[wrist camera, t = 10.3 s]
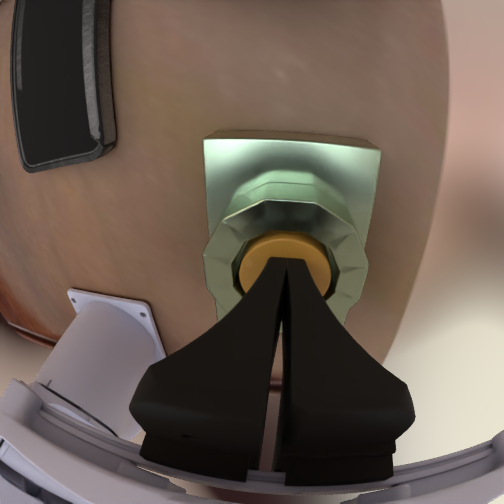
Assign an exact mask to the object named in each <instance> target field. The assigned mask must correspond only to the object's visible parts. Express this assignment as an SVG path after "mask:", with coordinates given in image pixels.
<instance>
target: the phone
mask: <svg viewBox="0 0 504 504" xmlns="http://www.w3.org/2000/svg"><path fill="white" fill-rule="evenodd" d="M109 9H110V0H15V6H14V13H13V22H12V32H11V49H10V83H11V100H12V111H13V120H14V128H15V135H16V141H17V147H18V153H19V158H20V162H21V165H22V167H23V168H24V169H25V171H26V172H28V173H35V172H40V171H44V170H48V169H53V168H57V167H62V166H67V165H72V164H78V163H83V162H89V161H92V160H95V159H97V158H99V157H101V156H103V155H106V154H107V153H109V152H110V151H111V150H112V148H113V146H114V144H115V140H116V130H115V122H114V113H113V103H112V92H111V78H110V58H109Z"/></svg>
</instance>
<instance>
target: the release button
mask: <svg viewBox="0 0 504 504" xmlns="http://www.w3.org/2000/svg"><path fill="white" fill-rule="evenodd" d="M270 257H284V258H298V259H304V260H305V261H306V264H307V267H308V269H309V271H310V274H311V276H312V278H313V280H314V282H315V284H316V286H317V288H318V289H319V291H320V293H321V295H322V296H324V294H325V293H326V291H327V289H328V287H329V284H330V280H331V270H330V264H329V258H328V252H327V247H326V246H325V245H324V244H322V243H321V242H319V241H318V240H316V239H314V238H313V237H311V236H310V235H308V234H306V233H305V232H291V231H276V230H271V231H269V232H267V233H265V234H262V235H260V236H258V237H255V238H253V239H251V240H249V241H248V242H247V244H246V248H245V251H244V255H243V258H242V262H241V265H240V270H239V278H240V283H241V286H242V288H243V290H244V291H245V293H247V291H248V290H249V289H250V288H251V286H252V285H253V283H254V282H255V281H256V279H257V278H258V276H259V275H260V273H261V272H262V270H263V268H264V267H265V265H266V263H267V260H268V259H269V258H270Z"/></svg>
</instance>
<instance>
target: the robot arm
mask: <svg viewBox="0 0 504 504" xmlns="http://www.w3.org/2000/svg"><path fill="white" fill-rule="evenodd" d="M67 294H68V296H69V298H70V301H71V303H72V305H73V307H74V309H75V311H76V313H77V316H76V317H75V319H74V320H73V321H72V323H71V324H70V326H69V327H68V328H67V330H66V331H65V333H64V334H63V336H62V337H61V338H60V340H59V341H58V343H57V344H56V346H55V347H54V349H53V350H52V352H51V353H50V355H49V356H48V358H47V359H46V361H45V363H44V364H43V366H42V367H41V369H40V370H39V372H38V374H37V375H36V377H35V379H34V380H33V382H32V383H30V384H28V385H26V384H25V383H24V382H23V381H18V380H17V379H15V378H12V380H11V382H10V383H9V385H8V387H7V389H6V390H5V392H4V393H3V395H2V397H1V398H0V504H241V503H233V502H226V501H220V500H214V499H208V498H202V497H198V496H192V495H188V494H186V490H185V489H183V488H181V487H179V486H177V485H175V484H173V483H171V482H170V481H169V479H167V478H165V477H162V476H159V475H156V474H154V473H151V472H149V471H146V470H143V469H141V468H139V467H142V468H145V469H148V470H151V471H154V472H157V473H160V474H163V475H167V476H170V477H174V478H178V479H182V480H186V481H190V482H194V483H199V484H203V485H208V486H213V487H219V488H225V489H231V490H238V491H246V492H255V493H266V494H281V495H332V494H347V493H357V492H366V491H374V490H380V489H384V490H380V491H376V492H370V493H365V494H360V495H359V496H358V497H357V498H354V499H352V500H348V501H344V502H341V503H340V504H488V503H489V502H491V501H493V500H494V499H496V498H498V497H499V496H501V495H502V494H504V430H503V431H501V432H500V433H498V434H497V435H496V436H494V437H493V438H492V440H489V441H487V442H484V443H481V444H479V445H476V446H473V447H470V448H468V449H464V450H461V451H458V452H455V453H452V454H448V455H445V456H441V457H437V458H433V459H429V460H425V461H420V462H415V463H411V464H405V465H400V466H394V467H393V458H392V454H393V453H395V452H396V444H395V440H396V439H397V438H398V437H400V436H401V435H402V434H403V433H404V432H405V431H406V430H407V429H408V428H409V427H410V426H411V425H412V424H413V422H414V421H415V417H416V416H415V411H414V406H413V402H412V398H411V395H410V392H409V390H408V387H407V384H405V383H404V382H403V381H401V380H400V379H399V378H397V377H396V376H395V375H393V374H392V373H391V372H389V371H388V370H386V369H385V368H384V367H383V366H382V365H380V364H379V363H378V362H377V361H376V360H375V359H374V358H372V357H371V356H370V355H369V354H368V353H367V352H366V351H365V350H364V349H363V348H362V347H361V346H360V345H359V344H358V343H357V342H356V341H355V340H354V339H353V338H352V336H351V335H350V334H349V333H348V332H347V331H346V329H345V328H344V327H343V326H342V324H341V323H340V322H339V320H338V319H337V318H336V316H335V315H334V313H333V312H332V311H331V309H330V308H329V306H328V304H327V303H326V301H325V300H324V298H323V296H322V295H321V293H320V291H319V289H318V288H317V286H316V284H315V282H314V280H313V278H312V276H311V274H310V271H309V269H308V267H307V264H306V261H305V260H304V259H298V258H284V257H270V258H269V259H268V260H267V263H266V265H265V267H264V268H263V270H262V272H261V273H260V275H259V276H258V278H257V279H256V281H255V282H254V283H253V285H252V286H251V288H250V289H249V290H248V291H247V293H246V294H245V295H244V296H243V297H242V298H241V300H240V301H239V302H238V303H237V304H236V305H235V306H234V307H233V308H232V309H231V310H230V311H229V312H228V313H227V314H226V315H225V316H224V317H223V318H222V319H221V320H220V321H219V322H217V323H216V324H215V325H214V326H213V327H212V328H210V329H209V330H208V331H207V332H205V333H204V334H203V335H201V336H200V337H198V338H197V339H195V340H194V341H192V342H191V343H189V344H188V345H186V346H185V347H183V348H182V349H180V350H178V351H177V352H175V353H173V354H171V355H169V356H167V357H166V354H165V351H164V349H163V346H162V343H161V340H160V337H159V334H158V332H157V329H156V326H155V323H154V320H153V316H152V313H151V310H150V307H149V305H148V304H147V303H145V302H142V301H136V300H130V299H124V298H118V297H113V296H107V295H102V294H97V293H92V292H87V291H82V290H77V289H72V288H70V289H69V290H68V291H67ZM281 322H282V351H283V376H282V388H281V399H280V408H279V416H278V425H277V433H276V441H275V449H274V456H273V463H272V470H271V471H259V464H260V456H261V450H262V443H263V435H264V428H265V420H266V412H267V403H268V396H269V387H270V379H271V372H272V366H273V362H274V357H275V352H276V347H277V342H278V337H279V332H280V327H281ZM142 429H143V430H144V431H145V432H146V435H145V438H144V441H143V444H142V446H141V445H138V444H135V443H132V442H129V440H131V439H132V438H134V437H135V436H136V435H137V434H138V433H139V432H140V431H141V430H142ZM137 466H139V467H137ZM386 488H388V489H386Z"/></svg>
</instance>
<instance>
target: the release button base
mask: <svg viewBox="0 0 504 504" xmlns="http://www.w3.org/2000/svg"><path fill="white" fill-rule="evenodd" d="M202 146H203V164H204V181H205V195H206V209H207V222H208V234H209V241H208V242H207V244H206V246H205V248H204V250H203V254H202V255H203V264H204V272H205V280H206V287H207V289H208V290H209V292H210V293H211V294H212V295H213V297H214V298H215V304H216V313H217V321H218V322H219V321H220V320H221V319H222V318H223V317H224V316H225V315H226V314H227V313H228V312H229V311H230V310H231V309H232V308H233V307H234V306H235V305H236V304H237V303H238V302H239V301H240V300H241V298H242V297H243V296H244V295H245V294H246V293H245V291H244V290H243V288H242V286H241V283H240V278H239V270H240V265H241V262H242V258H243V255H244V251H245V248H246V244H247V242H248V241H249V240H251V239H253V238H255V237H258V236H260V235H262V234H265V233H267V232H269V231H271V230H276V231H291V232H305V233H306V234H308V235H310V236H311V237H313V238H314V239H316V240H318V241H319V242H321V243H322V244H324V245H325V246H326V247H327V252H328V258H329V264H330V270H331V280H330V284H329V287H328V289H327V291H326V293H325V294H324V296H323V298H324V300H325V301H326V303H327V304H328V306H329V308H330V309H331V311H332V312H333V313H334V315H335V316H336V318H337V319H338V320H339V322H340V323H341V324H342V326H343V325H344V322H345V319H346V315H347V312H348V310H349V309H350V308H351V307H352V306H353V305H354V304H355V303H357V302H358V301H359V298H360V296H361V293H362V289H363V286H364V282H365V279H366V275H367V272H368V268H369V262H368V259H367V256H366V253H365V251H364V248H365V244H366V239H367V235H368V230H369V225H370V221H371V216H372V210H373V205H374V200H375V194H376V188H377V182H378V175H379V169H380V162H381V154H382V150H381V149H380V148H378V147H377V146H375V145H374V144H372V143H371V142H369V141H368V140H363V139H356V138H349V137H340V136H331V135H321V134H310V133H297V132H279V131H215V132H214V133H212V134H210V135H208V136H206V137H205V138H203V139H202ZM279 333H282V322H281V327H280V332H279Z"/></svg>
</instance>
